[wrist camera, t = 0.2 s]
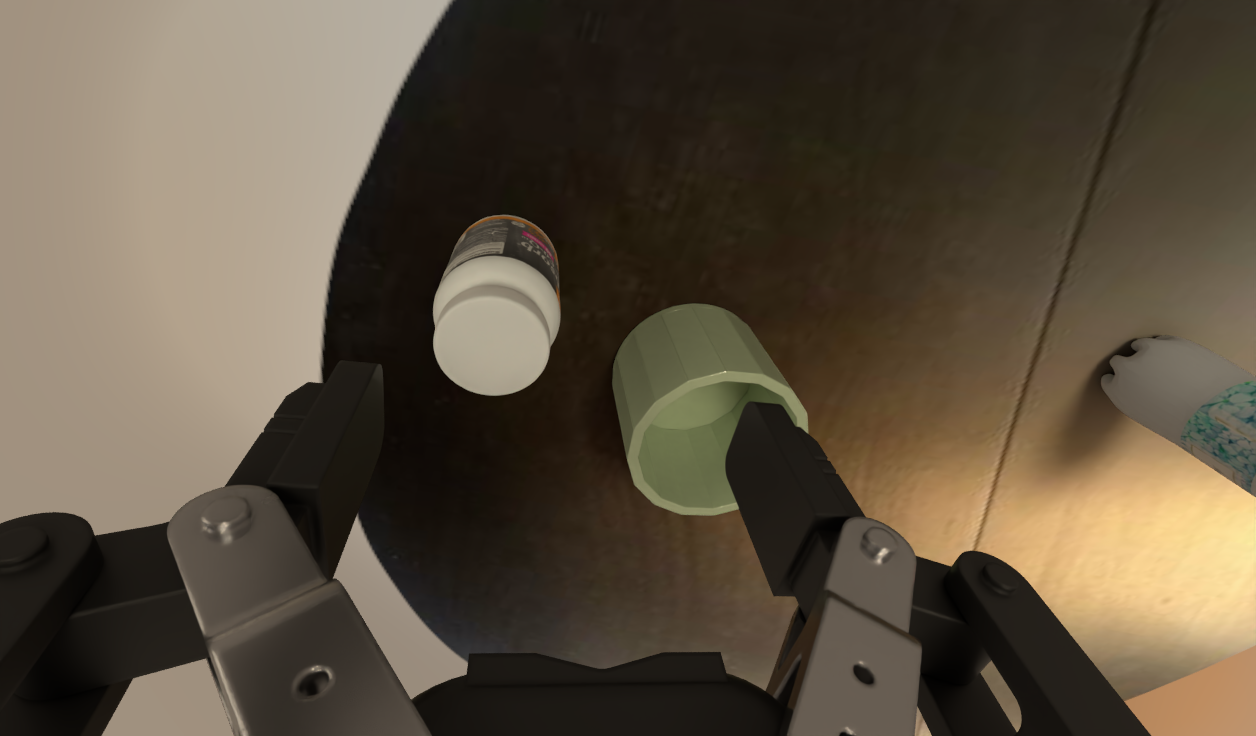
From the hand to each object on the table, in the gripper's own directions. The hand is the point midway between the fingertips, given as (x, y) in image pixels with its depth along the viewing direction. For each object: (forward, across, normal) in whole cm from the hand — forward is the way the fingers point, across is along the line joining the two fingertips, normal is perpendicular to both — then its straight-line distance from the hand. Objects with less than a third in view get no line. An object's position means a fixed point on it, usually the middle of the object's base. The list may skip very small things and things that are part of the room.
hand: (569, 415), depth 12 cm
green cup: (+20, -10, +10) cm, 25 cm away
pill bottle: (+20, +2, +4) cm, 21 cm away
